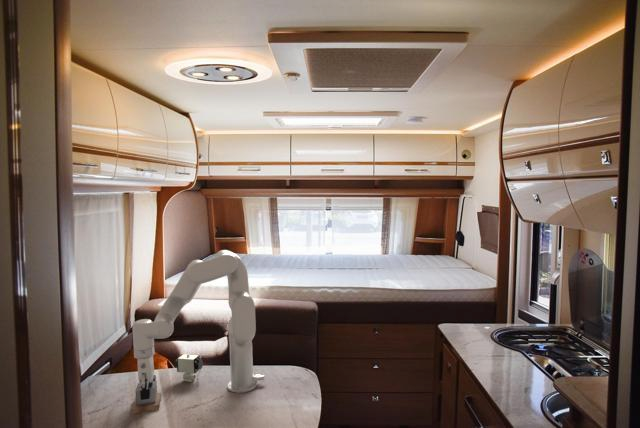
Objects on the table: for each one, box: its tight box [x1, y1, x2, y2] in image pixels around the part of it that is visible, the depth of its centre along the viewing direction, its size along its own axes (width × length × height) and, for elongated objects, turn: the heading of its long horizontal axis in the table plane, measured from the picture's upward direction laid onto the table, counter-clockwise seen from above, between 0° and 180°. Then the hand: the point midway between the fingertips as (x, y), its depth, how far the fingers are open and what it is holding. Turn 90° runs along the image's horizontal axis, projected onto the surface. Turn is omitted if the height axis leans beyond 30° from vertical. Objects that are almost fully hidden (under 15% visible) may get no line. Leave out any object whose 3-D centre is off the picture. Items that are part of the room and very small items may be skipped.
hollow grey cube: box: [135, 380, 158, 406], centre depth 162 cm, size 7×7×6 cm
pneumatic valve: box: [173, 353, 204, 383], centre depth 183 cm, size 6×12×12 cm, turn 78°
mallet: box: [130, 374, 163, 415], centre depth 171 cm, size 10×27×6 cm, turn 17°
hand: (146, 393), depth 162 cm, fingers open, 9 cm apart
